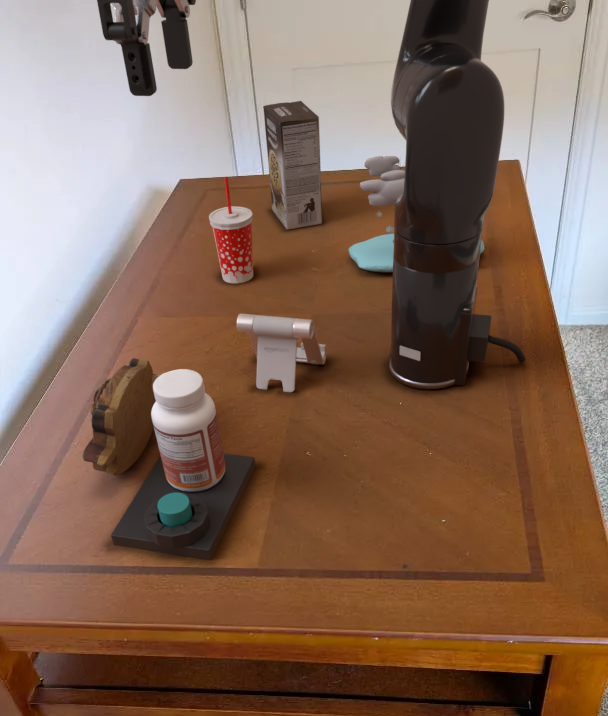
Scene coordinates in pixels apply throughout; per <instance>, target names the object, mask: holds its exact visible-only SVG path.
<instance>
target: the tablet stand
mask: <svg viewBox="0 0 608 716" xmlns="http://www.w3.org/2000/svg"><path fill="white" fill-rule="evenodd" d="M236 330H237V332H238V333H239V334H247V336H248V339H249V341H250V344H251V347H252V350H253V352H254V355H255V357H256V381H255V382H256V383H255V386H256V388H257V389H259V390H265V391H268V389H269V388H268V387H269V383H270V380H276V381H280V382H281V383H282V391H283V392H284V393H293V392H295V390H296V375H297V374H296V372H297V371H296V370H297V363H304V364H311V365H317V366H318V365H325V364H326V362H327V361H326V360H327V345H326V344H321V343H320V341H319V338H318V334H317V330H316V325H315V321H314V320H313V319H309V318H308V319H307V318H299V317H298V318H295V317H285V316H272V315H263V314H262V315H261V314H249V313H238V316H237V318H236ZM298 339H301V343H300V346H299V347H298Z"/></svg>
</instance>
